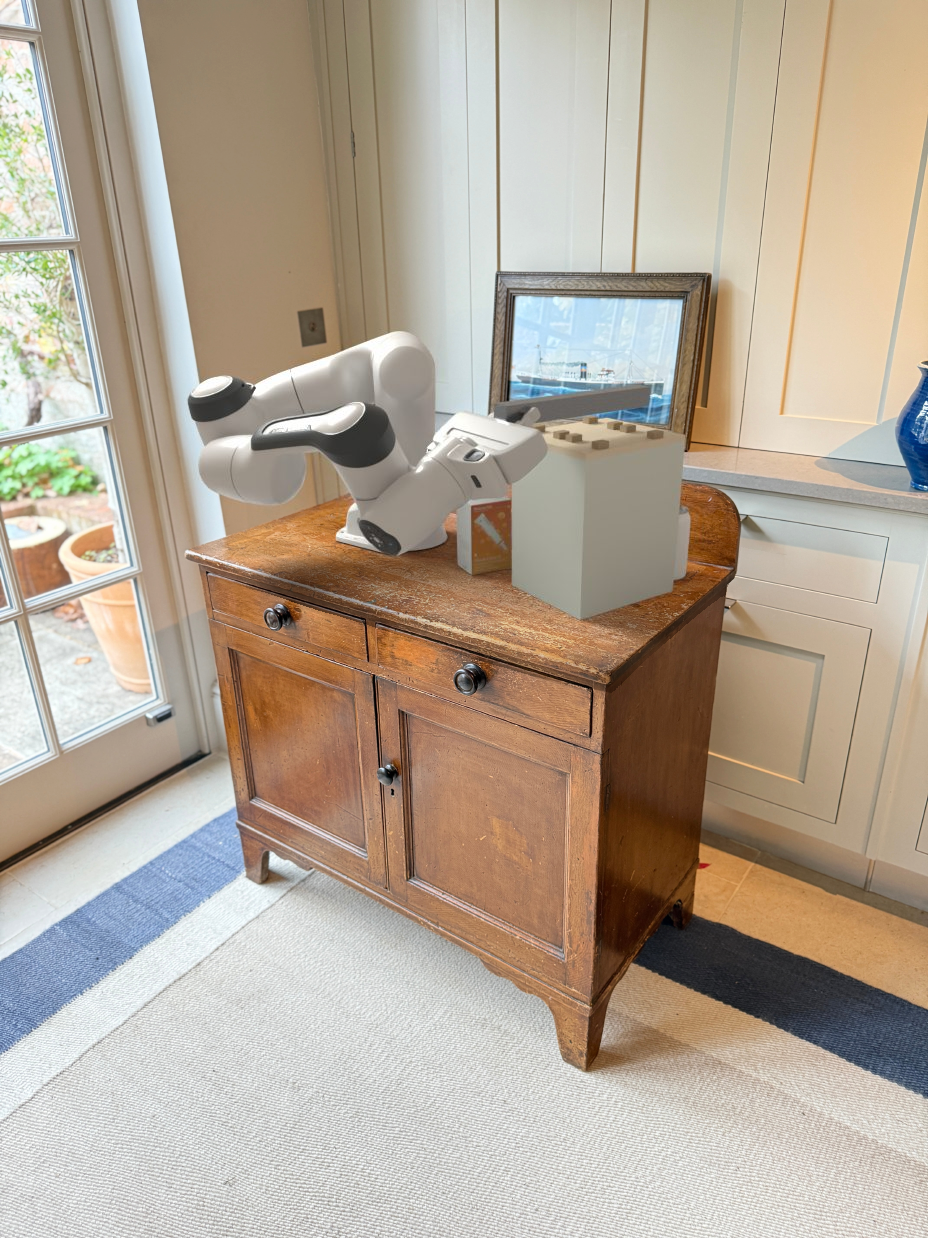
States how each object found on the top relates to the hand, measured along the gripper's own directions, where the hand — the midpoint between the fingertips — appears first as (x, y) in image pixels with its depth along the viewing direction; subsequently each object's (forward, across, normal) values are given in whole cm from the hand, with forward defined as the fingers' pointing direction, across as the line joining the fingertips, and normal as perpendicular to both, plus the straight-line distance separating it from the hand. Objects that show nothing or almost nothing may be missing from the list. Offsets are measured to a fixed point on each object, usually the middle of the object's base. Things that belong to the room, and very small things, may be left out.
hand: (526, 408), depth 122 cm
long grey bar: (+7, 0, -6) cm, 9 cm away
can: (+9, +3, -42) cm, 43 cm away
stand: (-4, 0, -35) cm, 35 cm away
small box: (-11, -20, -31) cm, 38 cm away
